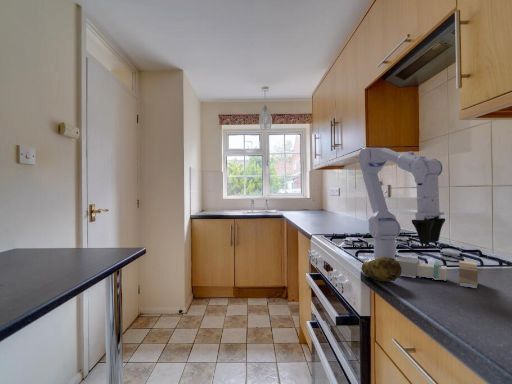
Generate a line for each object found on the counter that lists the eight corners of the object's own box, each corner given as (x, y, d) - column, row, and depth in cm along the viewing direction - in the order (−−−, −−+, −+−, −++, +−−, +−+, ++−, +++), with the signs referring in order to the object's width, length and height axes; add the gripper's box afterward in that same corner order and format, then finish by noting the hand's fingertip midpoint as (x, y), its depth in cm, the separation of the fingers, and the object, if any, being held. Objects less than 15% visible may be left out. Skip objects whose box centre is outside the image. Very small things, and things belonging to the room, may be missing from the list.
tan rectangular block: (459, 279, 82) (459, 260, 82) (476, 282, 80) (476, 262, 79) (459, 286, 77) (459, 265, 77) (477, 289, 74) (477, 268, 74)
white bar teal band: (402, 270, 90) (402, 257, 90) (446, 277, 83) (447, 262, 83) (399, 274, 86) (399, 260, 86) (446, 282, 79) (446, 266, 79)
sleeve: (398, 270, 92) (398, 256, 92) (418, 273, 88) (418, 258, 88) (394, 275, 87) (394, 260, 86) (416, 278, 83) (416, 263, 83)
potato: (385, 274, 87) (385, 249, 87) (406, 290, 74) (406, 260, 74) (359, 274, 87) (359, 249, 87) (375, 289, 74) (375, 260, 74)
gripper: (434, 197, 76) (436, 246, 76) (450, 197, 85) (452, 241, 85) (407, 198, 82) (408, 244, 81) (425, 198, 91) (427, 239, 90)
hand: (429, 242), depth 83 cm, fingers open, 7 cm apart
